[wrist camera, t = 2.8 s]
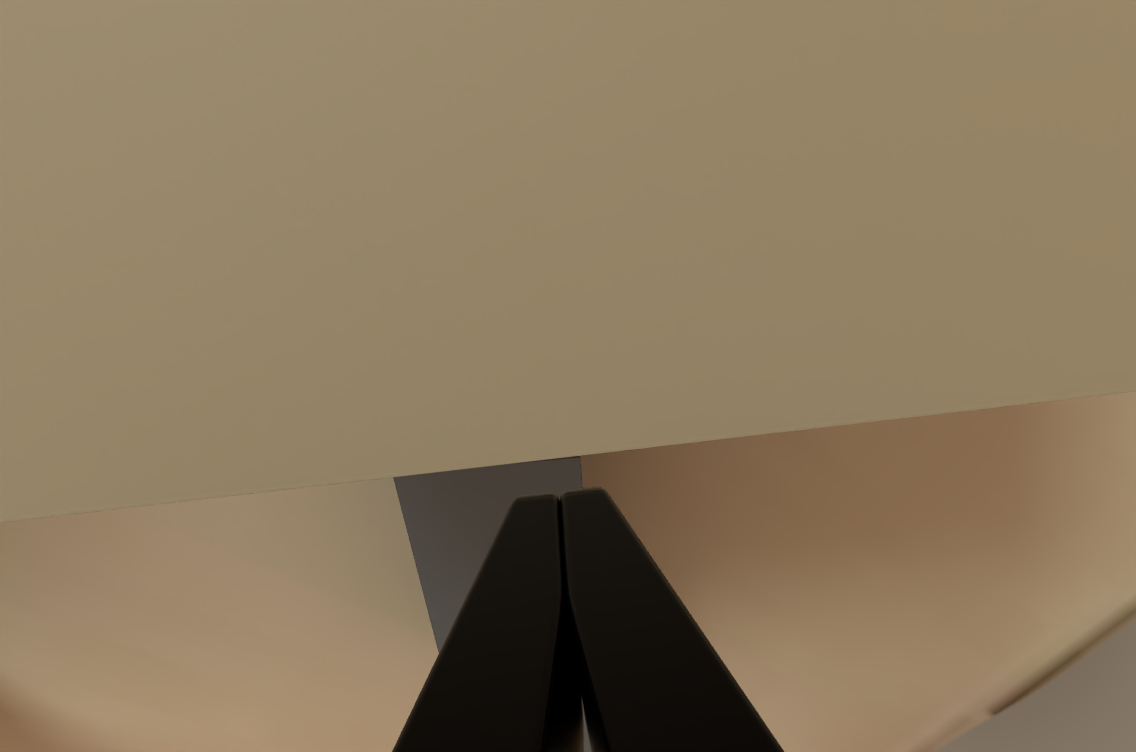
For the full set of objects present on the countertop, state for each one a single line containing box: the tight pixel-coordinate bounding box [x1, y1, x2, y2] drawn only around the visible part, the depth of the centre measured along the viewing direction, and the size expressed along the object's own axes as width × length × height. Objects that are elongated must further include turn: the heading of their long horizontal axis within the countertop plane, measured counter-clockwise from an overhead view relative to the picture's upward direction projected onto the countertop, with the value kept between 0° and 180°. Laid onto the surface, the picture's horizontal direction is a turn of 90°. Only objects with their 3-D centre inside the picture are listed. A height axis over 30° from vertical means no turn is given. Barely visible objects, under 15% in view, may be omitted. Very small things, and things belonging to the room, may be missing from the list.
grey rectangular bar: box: [393, 456, 591, 752], centre depth 26 cm, size 12×4×4 cm, turn 4°
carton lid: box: [0, 0, 1136, 522], centre depth 11 cm, size 10×14×1 cm
